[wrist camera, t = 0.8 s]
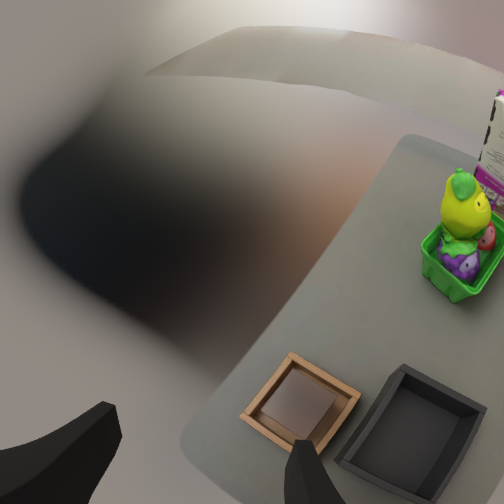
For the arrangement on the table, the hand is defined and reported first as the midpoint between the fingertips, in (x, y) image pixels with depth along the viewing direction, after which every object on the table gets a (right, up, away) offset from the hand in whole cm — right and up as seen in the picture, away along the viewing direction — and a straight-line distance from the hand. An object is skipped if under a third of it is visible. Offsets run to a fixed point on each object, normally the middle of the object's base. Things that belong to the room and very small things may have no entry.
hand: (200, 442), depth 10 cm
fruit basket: (+25, +6, +18) cm, 32 cm away
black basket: (+15, -9, +10) cm, 20 cm away
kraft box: (+6, -6, +14) cm, 16 cm away
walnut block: (+6, -6, +13) cm, 16 cm away
